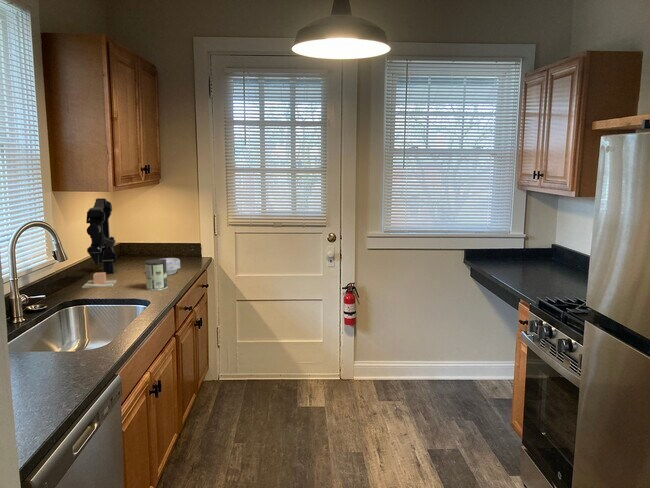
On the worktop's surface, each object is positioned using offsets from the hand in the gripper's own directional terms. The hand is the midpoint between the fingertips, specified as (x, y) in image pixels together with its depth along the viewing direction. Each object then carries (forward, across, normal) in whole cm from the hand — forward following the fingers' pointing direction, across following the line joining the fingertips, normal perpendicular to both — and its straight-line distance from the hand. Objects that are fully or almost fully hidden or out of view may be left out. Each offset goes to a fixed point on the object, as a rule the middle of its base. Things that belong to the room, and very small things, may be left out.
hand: (99, 262), depth 270 cm
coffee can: (+11, -16, -30) cm, 36 cm away
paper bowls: (+11, +18, -32) cm, 38 cm away
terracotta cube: (+10, -3, 0) cm, 10 cm away
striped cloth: (+11, -3, 0) cm, 11 cm away
